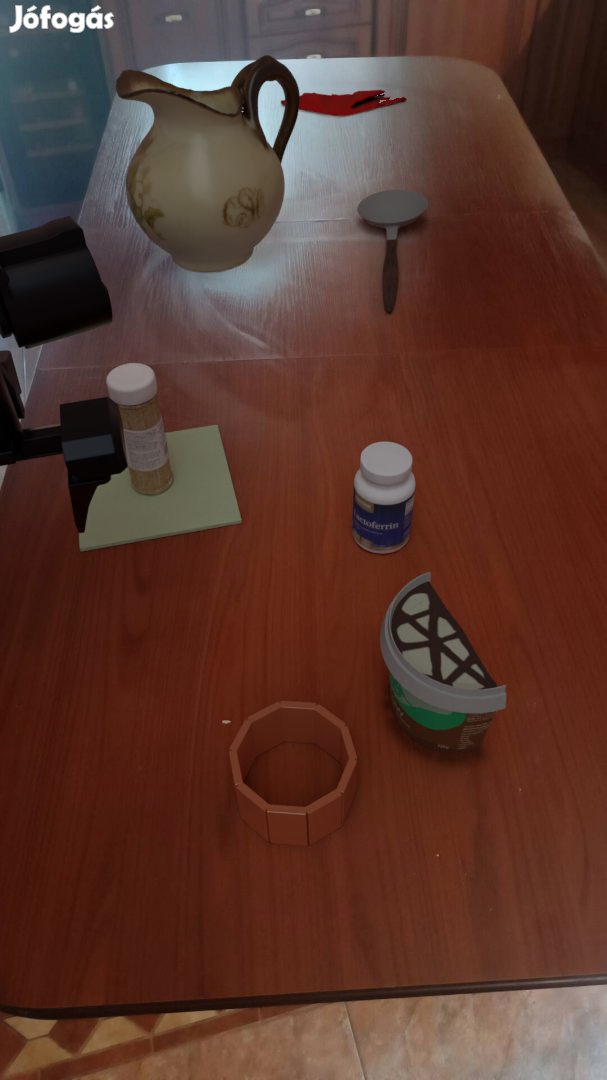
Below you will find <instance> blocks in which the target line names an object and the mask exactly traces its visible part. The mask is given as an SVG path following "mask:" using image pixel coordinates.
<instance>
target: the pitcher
mask: <svg viewBox="0 0 607 1080" xmlns="http://www.w3.org/2000/svg"><path fill="white" fill-rule="evenodd" d="M274 81H275V82H277V83H278V84H279V86H280V87H281V88H282V91H283V95H284V100H285V106H284V111H283V116H282V119H281V123H280V125H279V129H278V132H277V135H276V137H275V140H274V143H273V145H271V144H270V143H269V142H268V140H267V138H266V135H265V132H264V130H263V127H262V125H261V122H260V116H259V95H260V91H261V88H262V87H263V85H265V82H274ZM115 92H116V94H117V97H119V98H120V99H122V100H126V101H135V102H140V103H144V104H147V105H148V106H149V107H150V108H151V110H152V112H153V122H152V125H151V127H150V128H149V130H148V132H147V133H146V135H145V136H144V138H143V139H142V140H141V142H140V143H139V145H138V147H137V148H136V150H135V152H134V154H133V155H132V157H131V159H130V161H129V164H128V168H127V170H126V171H127V172H126V177H125V193H126V200H127V203H128V207H129V209H130V212H131V214H132V216H133V218H134V220H135V222H136V223H137V226H139V228H140V229H141V230H142V233H144V234H145V235H146V236H147V238H148V239H149V240H150V241H151V242H152V243H154V244H155V245H156V246H157V247H159V248H160V249H161V250H163V251H164V252H166V253H167V254H168V255H170V257H171V260H172V261H173V262H174V263H175V264H176V265H177V266H179V267H180V268H181V269H184V270H186V271H191V272H196V273H217V272H225V271H229V270H231V269H234V268H237V267H240V266H242V265H243V264H245V263H246V262H247V261H248V260H249V259H250V258H251V257H252V255H253V253H254V248H255V247H257V246H258V245H259V244H260V243H261V242H262V241H263V240H264V238H265V237H266V236H267V235H268V234H269V232H270V231H271V230H272V229H273V226H274V224H275V223H276V221H277V219H278V218H279V215H280V213H281V211H282V210H281V209H282V206H283V203H284V199H285V191H286V190H285V189H286V182H285V173H284V169H283V166H282V163H283V158H284V155H285V152H286V149H287V147H288V143H289V141H290V139H291V136H292V134H293V132H294V129H295V126H296V122H297V120H298V116H299V112H300V109H299V104H300V96H301V95H300V88H299V85H298V82H297V79H296V78H295V76H294V74H293V73H292V72H291V71H290V69H289V68H288V67H287V66H286V65H285V64H284V63H283V62H281V61H279V60H278V59H277V58H276V57H274V56H273V55H269V54H265V55H262V56H261V57H259V58H257V59H256V60H254V61H252V62H250V63H248V64H247V65H245V66H243V68H241V70H239V72H237V74H236V76H235V77H234V79H233V80H232V82H231V84H230V85H228V86H225V87H221V88H218V89H213V90H194V89H192V88H184V87H181V86H180V87H179V86H177V85H175V84H173V83H171V82H167V81H164V80H162V79H161V78H159V77H157V76H155V75H153V74H150V73H147V72H146V71H143V70H138V69H137V70H136V69H124V70H122V71H121V73H120V75H119V76H118V77H117V79H116V80H115Z"/></svg>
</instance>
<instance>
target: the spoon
mask: <svg viewBox="0 0 607 1080" xmlns="http://www.w3.org/2000/svg"><path fill="white" fill-rule="evenodd" d="M428 205H429V202H428V199H427V198H426V196H424V194H421V193H419V192H417V191H414V190H410V189H387V190H382V191H378V192H375V193H372V194H369V195H368V196H366V197H365V198H363V199H362V200H361V201H360V202H359V203H358V205H357V208H356V211H357V214H358V215H359V217H361V218H362V220H364V221H365V222H366V223H368V224H370V225H372V226H374V227H376V228H379V229H383V230H385V231H386V248H385V249H386V250H385V251H386V252H385V257H384V262H383V266H382V267H383V269H382V296H383V303H384V309H385V311H386V312H387V313H391V312H392V311H393V309H394V307H395V302H396V298H397V292H398V284H399V261H398V255H397V254H398V253H397V246H398V245H397V243H398V231H399V229H400V228H404V227H406V226H409V225H411V224H412V223H415V222H416V221H417V220H418V219H419V218H421V216H422V215H423V214H424V213H425V212H426V210H427V208H428Z"/></svg>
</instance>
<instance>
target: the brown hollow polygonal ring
mask: <svg viewBox="0 0 607 1080" xmlns="http://www.w3.org/2000/svg"><path fill="white" fill-rule="evenodd" d="M284 742H285V743H286V742H287V743H298V744H299V743H300V744H313V745H317V746H318V747H319V748H320V749H322V750H323V751H324V752H326V754H328V755H330V756H331V757H332V758H333V759H335V760H336V761H337V762H339V765H340V768H341V772H342V774H341V776H340V779H339V781H338V784H337V786H336V788H335V789H334V790H332V791H330V792H329V793H327V794H325V795H323V796H321V797H320V798H318V799H316V800H315V801H313V802H311V803H310V804H308V805H306V806H299V805H287V804H286V805H285V804H284V805H283V804H273V803H268V802H267V801H266V800H265V799H263V798H262V797H261V796H260V795H259V794H258V793H257V792H256V791H254V790H253V789H252V788H250V787H249V786H248V785H247V784H245V783H244V781H245V780H246V777H247V775H248V773H249V772H250V770H251V768H252V766H253V764H254V762H255V760H256V758H257V757H258V756H260V755H262V754H264V753H266V752H267V751H269V750H271V749H273V748H275V747H276V746H278V745H280V744H282V743H284ZM228 750H229V751H228V756H229V762H230V768H231V773H232V779H233V785H234V790H235V794H236V796H235V797H236V801H237V806H238V812H239V817H240V818H241V820H242V821H243V822H244V824H247V825H248V826H249V827H250V828H251V829H252V830H254V832H256V833H257V834H258V835H259V836H260V837H261V838H262V839H264V840H265V841H266V842H267V843H270V844H274V845H276V844H277V845H288V846H302V847H303V846H305V847H308V846H312V845H313V844H315V843H317V842H318V841H320V840H321V839H323V838H325V837H327V836H329V835H330V834H331V833H333V832H335V831H336V830H338V829H340V828H342V825H344V824H345V821H346V818H347V816H348V814H349V811H350V808H351V806H352V803H353V801H354V799H355V796H356V792H357V774H358V773H357V772H358V755H357V751H356V749H355V745H354V741H353V738H352V735H351V732H350V728H349V726H348V725H347V723H346V722H344V721H343V720H341V719H340V718H339V717H338V716H337V715H335V714H333V713H332V712H331V711H329V710H328V709H326V707H324V706H322V705H321V704H320V703H317V702H311V701H297V700H296V701H293V700H280V701H279V700H278V701H276V702H274V703H272V704H269V705H268V706H266V707H264V708H262V709H260V710H258V711H256V712H255V713H252V714H251V715H248V716H247V717H246V718H245V719H244V721H243V722H242V725H240V728H239V730H238V732H237V733H236V735H235V737H234V739H233V741H232V742H231V745H230V746H229V749H228Z"/></svg>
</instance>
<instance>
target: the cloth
mask: <svg viewBox="0 0 607 1080" xmlns="http://www.w3.org/2000/svg"><path fill="white" fill-rule="evenodd" d="M385 91H386V90H383V89H373V90H371V89H370V90H357V91H355V92H353V93H352V94H350V93H345V94H344V93H343V94H334V93H332V94H331V95H330V94H324V93H316V92H303V93H302V94H301V95H300V104H299V110H300V111H305V112H311V113H315V114H321V115H327V116H339V117H346V116H351V115H356V114H360V113H363V112H367V111H371V110H375V109H378V108H381V107H385V106H389V105H392V104H396V103H399V102H404V101H407V100H408V98H407V97H405V96H403V97H402V98H396V99H394V100H389V99H390V97H391V96H386V92H385ZM384 92H385V94H383V95H380V94H382V93H384ZM377 95H378V96H377ZM380 100H386V101H383V102H381V103H379V102H380ZM280 104H281V105H282V106H284V107H285V99H282V100H280Z"/></svg>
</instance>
